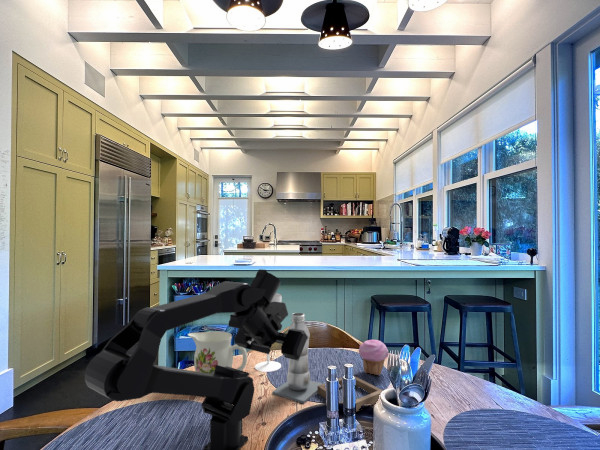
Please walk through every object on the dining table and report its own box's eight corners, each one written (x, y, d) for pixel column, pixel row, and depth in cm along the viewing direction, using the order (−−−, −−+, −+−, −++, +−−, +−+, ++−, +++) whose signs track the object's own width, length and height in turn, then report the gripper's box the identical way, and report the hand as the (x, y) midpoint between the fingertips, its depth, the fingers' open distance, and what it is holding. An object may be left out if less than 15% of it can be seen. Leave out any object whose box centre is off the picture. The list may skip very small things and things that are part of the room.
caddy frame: (349, 414, 73) (349, 405, 74) (317, 393, 84) (317, 385, 84) (384, 399, 80) (384, 391, 81) (351, 381, 91) (351, 374, 91)
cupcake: (355, 375, 95) (354, 342, 95) (364, 365, 102) (363, 334, 103) (384, 381, 90) (384, 346, 91) (391, 370, 98) (391, 338, 98)
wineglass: (248, 370, 99) (248, 297, 100) (261, 359, 108) (261, 292, 110) (275, 374, 96) (275, 298, 97) (286, 361, 106) (285, 293, 107)
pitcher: (241, 393, 84) (241, 341, 85) (178, 389, 87) (178, 339, 87) (252, 375, 95) (252, 330, 96) (196, 373, 98) (196, 328, 98)
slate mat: (304, 403, 79) (304, 401, 79) (272, 393, 84) (272, 391, 84) (324, 386, 88) (324, 384, 88) (294, 378, 93) (294, 376, 93)
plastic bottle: (285, 393, 83) (285, 317, 84) (288, 382, 89) (288, 311, 90) (309, 394, 82) (309, 317, 83) (310, 382, 89) (310, 311, 90)
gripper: (303, 296, 72) (325, 332, 80) (242, 290, 82) (268, 323, 90) (283, 340, 65) (310, 375, 73) (219, 327, 74) (250, 360, 83)
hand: (283, 355), depth 80 cm, fingers open, 9 cm apart
